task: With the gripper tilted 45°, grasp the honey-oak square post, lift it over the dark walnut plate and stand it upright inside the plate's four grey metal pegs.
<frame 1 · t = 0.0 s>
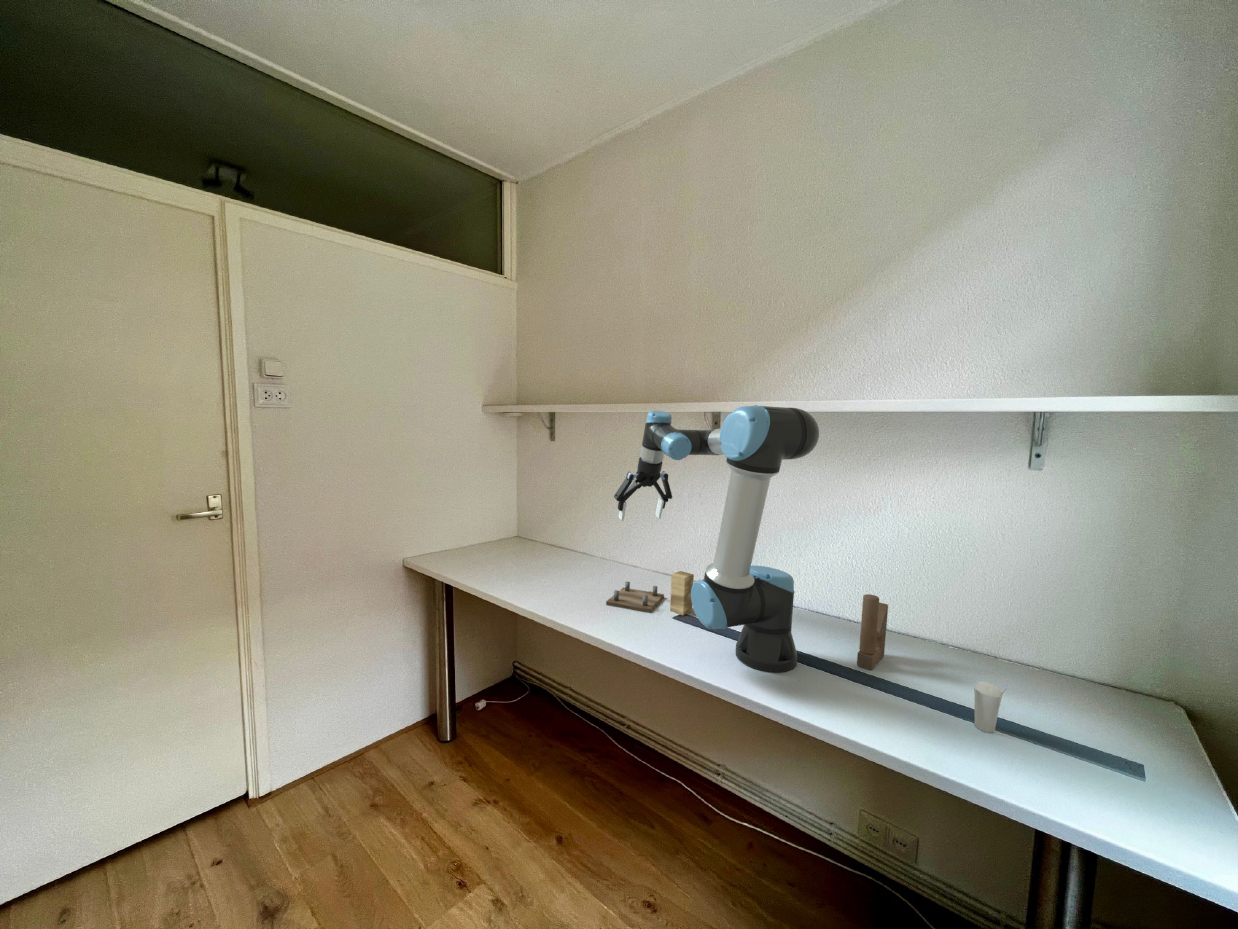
hand: (639, 517, 163), 28 cm above the table, tool tilted 20°, fingers open, 13 cm apart
peg plate: (635, 601, 163), on the table
milkshake: (986, 730, 98), on the table
oak post: (681, 611, 156), on the table
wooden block: (870, 662, 126), on the table
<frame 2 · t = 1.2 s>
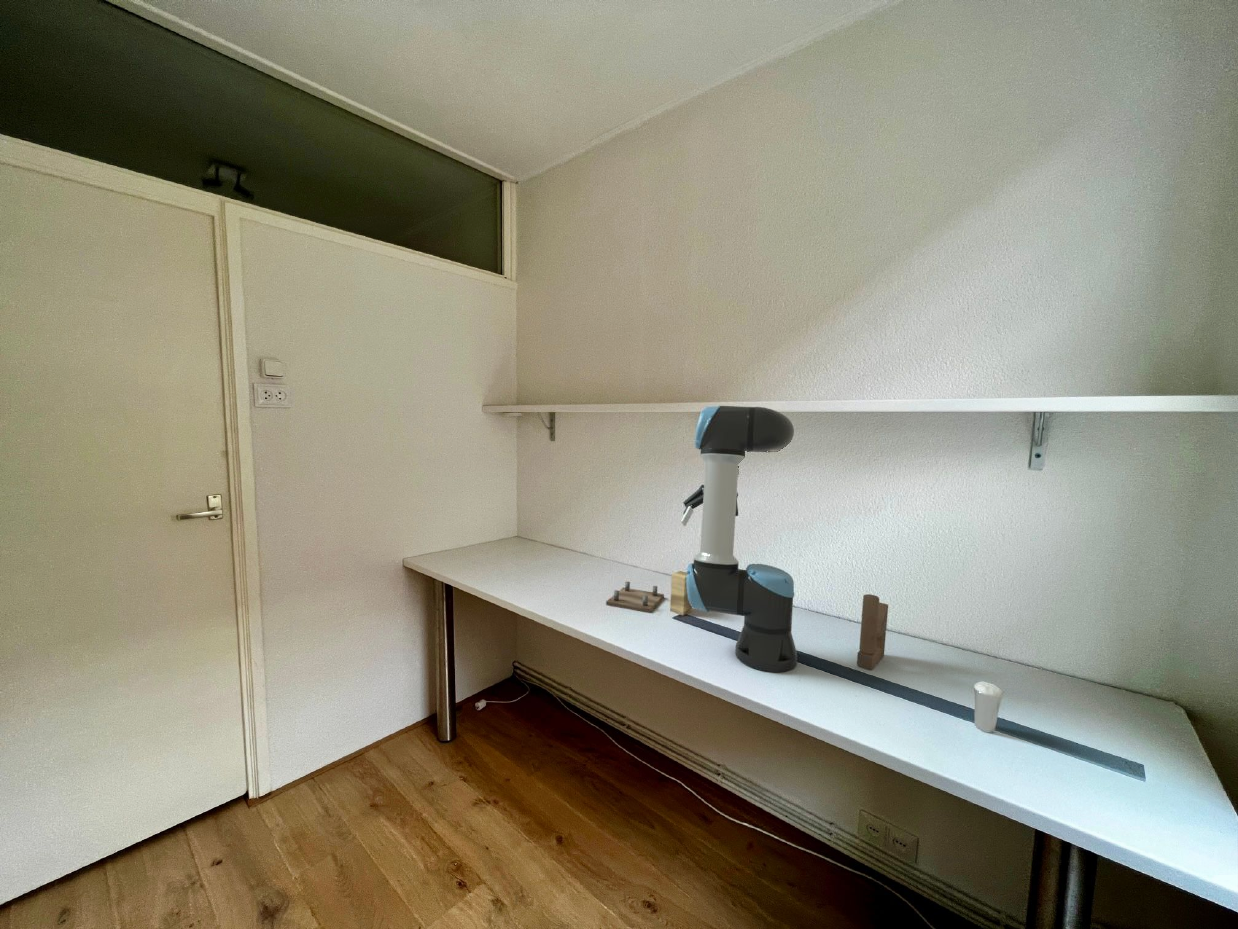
hand: (700, 527, 161), 26 cm above the table, tool tilted 45°, fingers open, 13 cm apart
nothing on the table moved.
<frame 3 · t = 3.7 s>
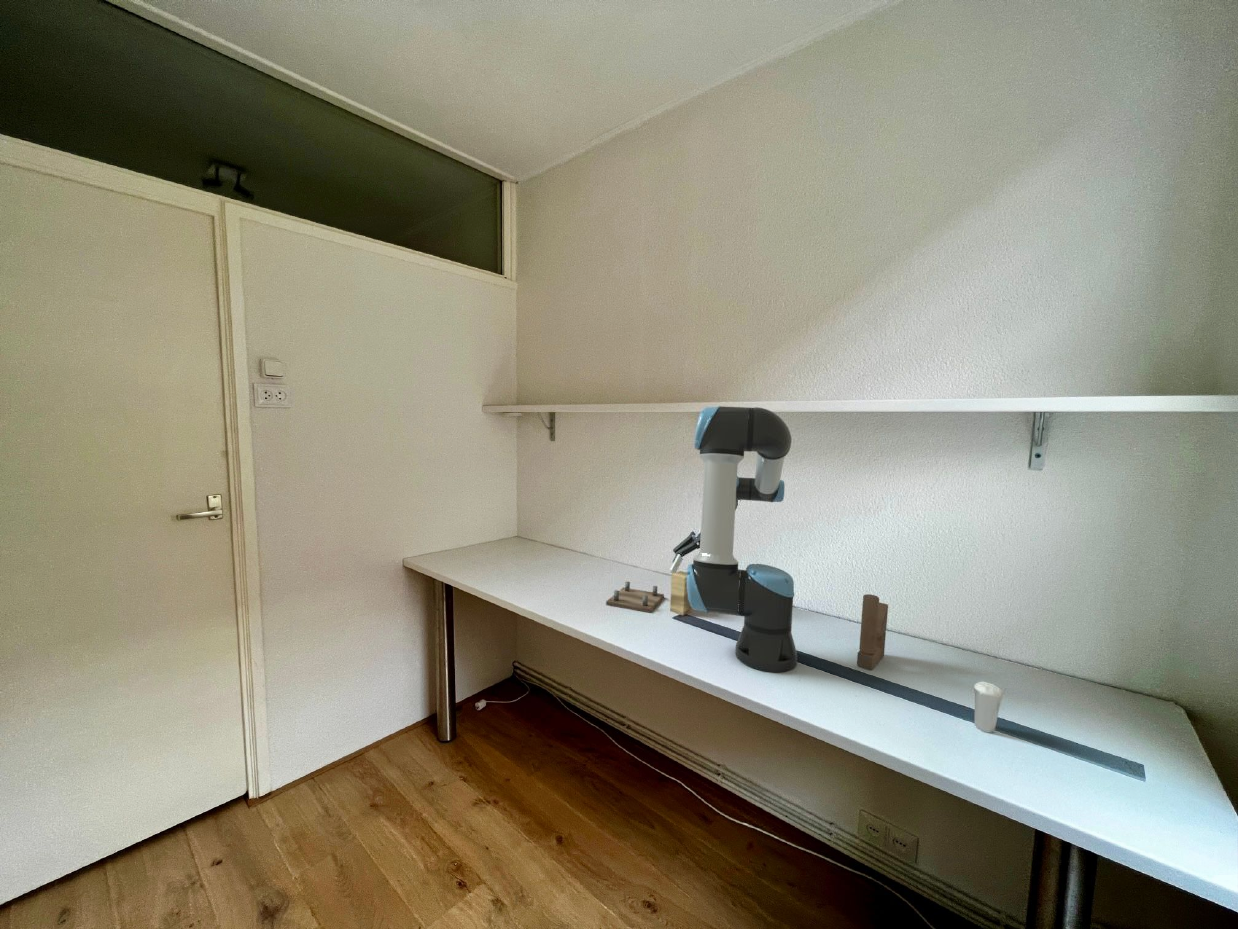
hand: (688, 577, 159), 10 cm above the table, tool tilted 45°, fingers open, 13 cm apart
nothing on the table moved.
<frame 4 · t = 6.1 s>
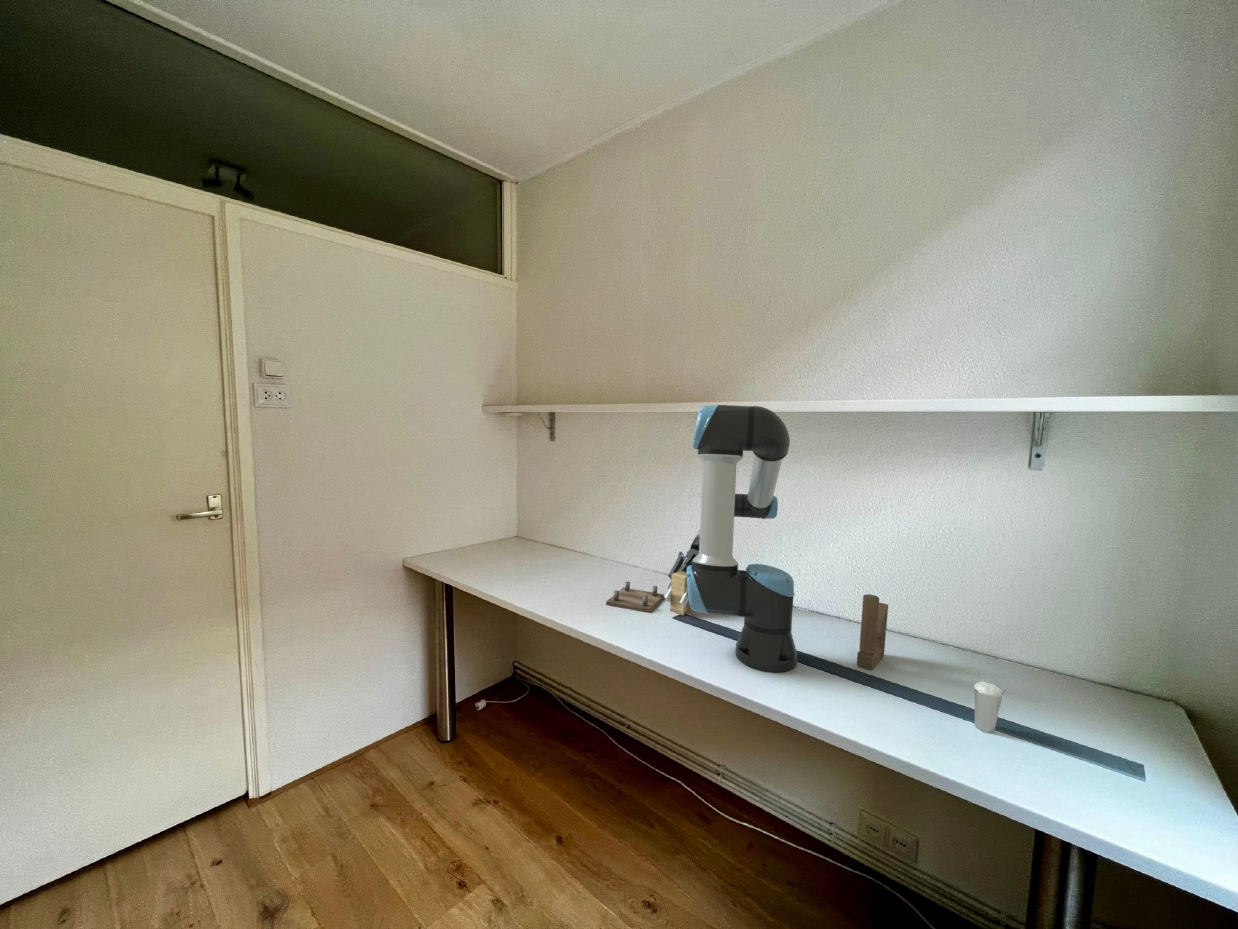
hand: (674, 602, 153), 4 cm above the table, tool tilted 45°, fingers closed on oak post, 5 cm apart
oak post: (681, 611, 156), on the table, touching gripper
everything else where it was.
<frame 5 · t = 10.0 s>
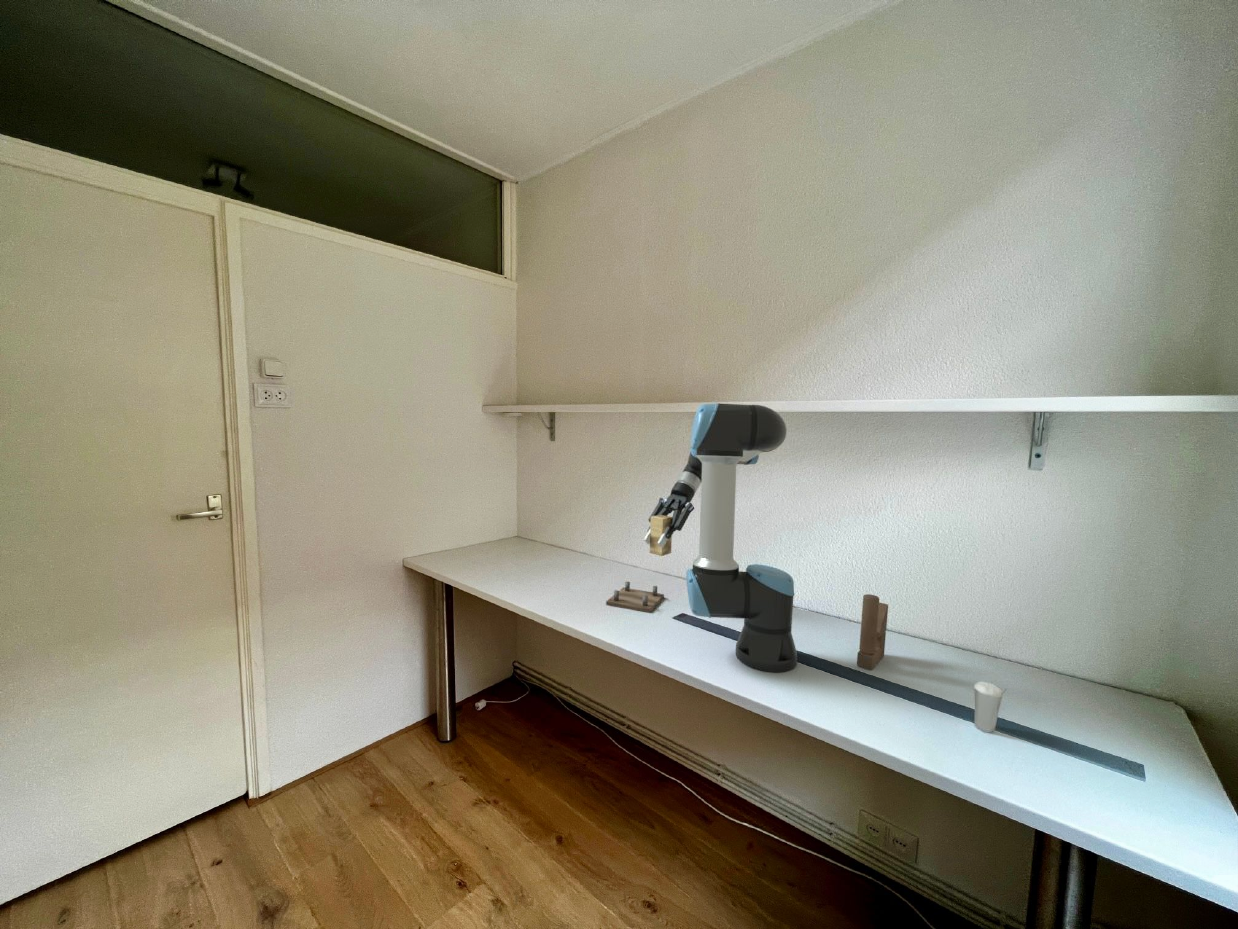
hand: (653, 543, 157), 21 cm above the table, tool tilted 45°, fingers closed on oak post, 5 cm apart
oak post: (660, 553, 160), point 17 cm above the table, touching gripper
everything else where it was.
when the fingers open (6 cm above the table, at t = 13.9 s): oak post drops 1 cm, resting on peg plate.
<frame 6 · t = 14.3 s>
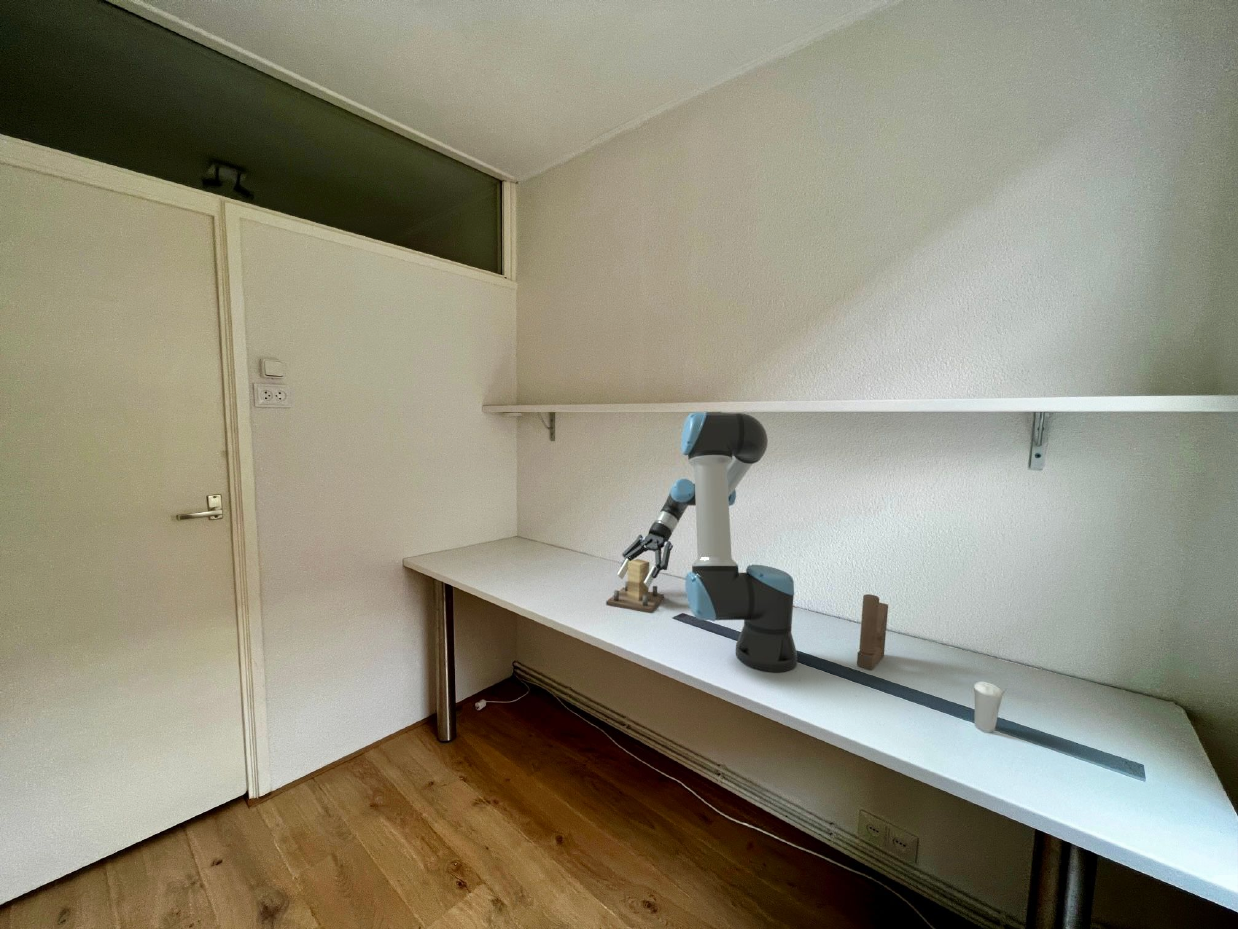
hand: (632, 580, 161), 7 cm above the table, tool tilted 45°, fingers open, 11 cm apart
oak post: (637, 596, 164), point 1 cm above the table, touching peg plate
everything else where it was.
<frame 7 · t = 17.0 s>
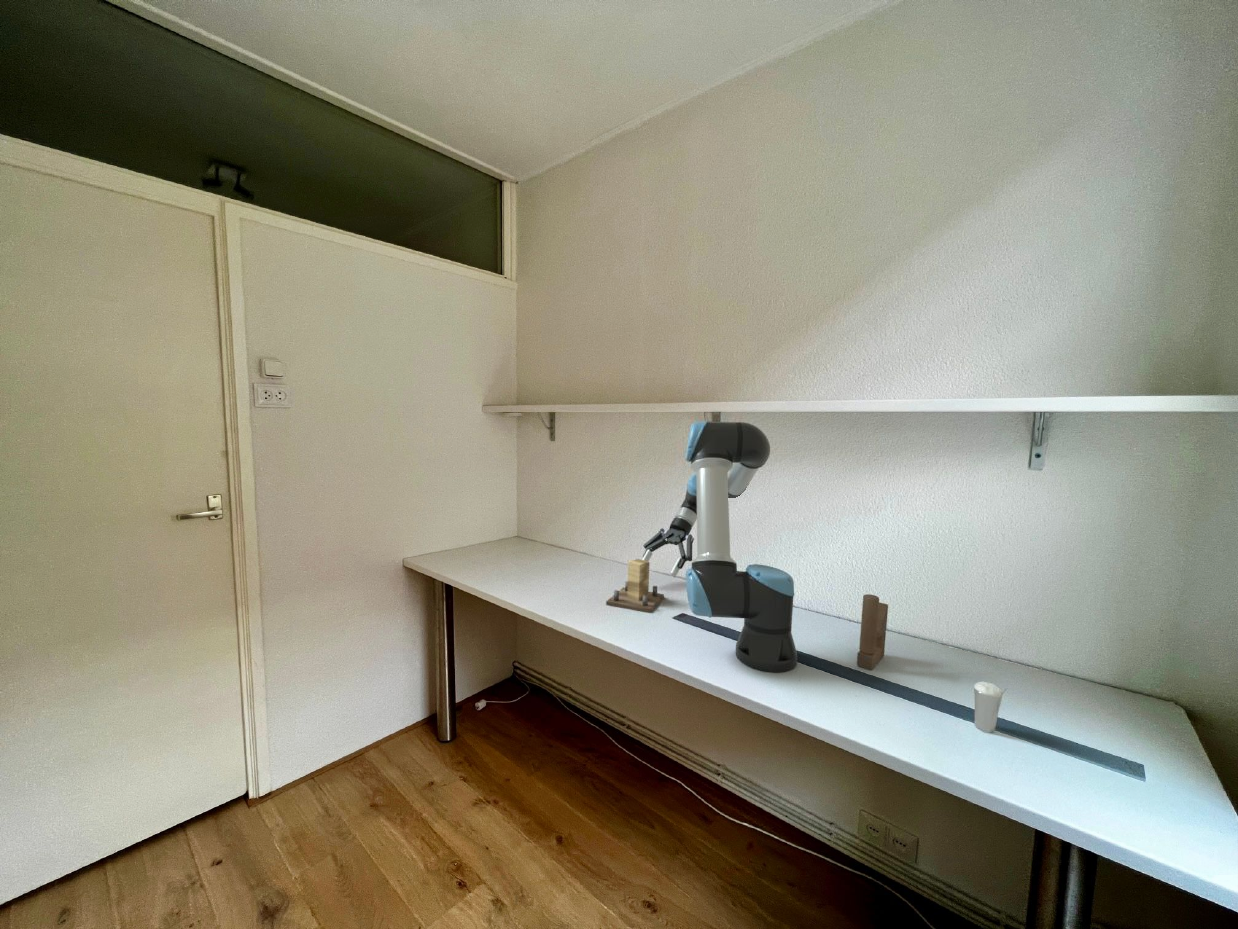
hand: (656, 571, 171), 8 cm above the table, tool tilted 45°, fingers open, 13 cm apart
nothing on the table moved.
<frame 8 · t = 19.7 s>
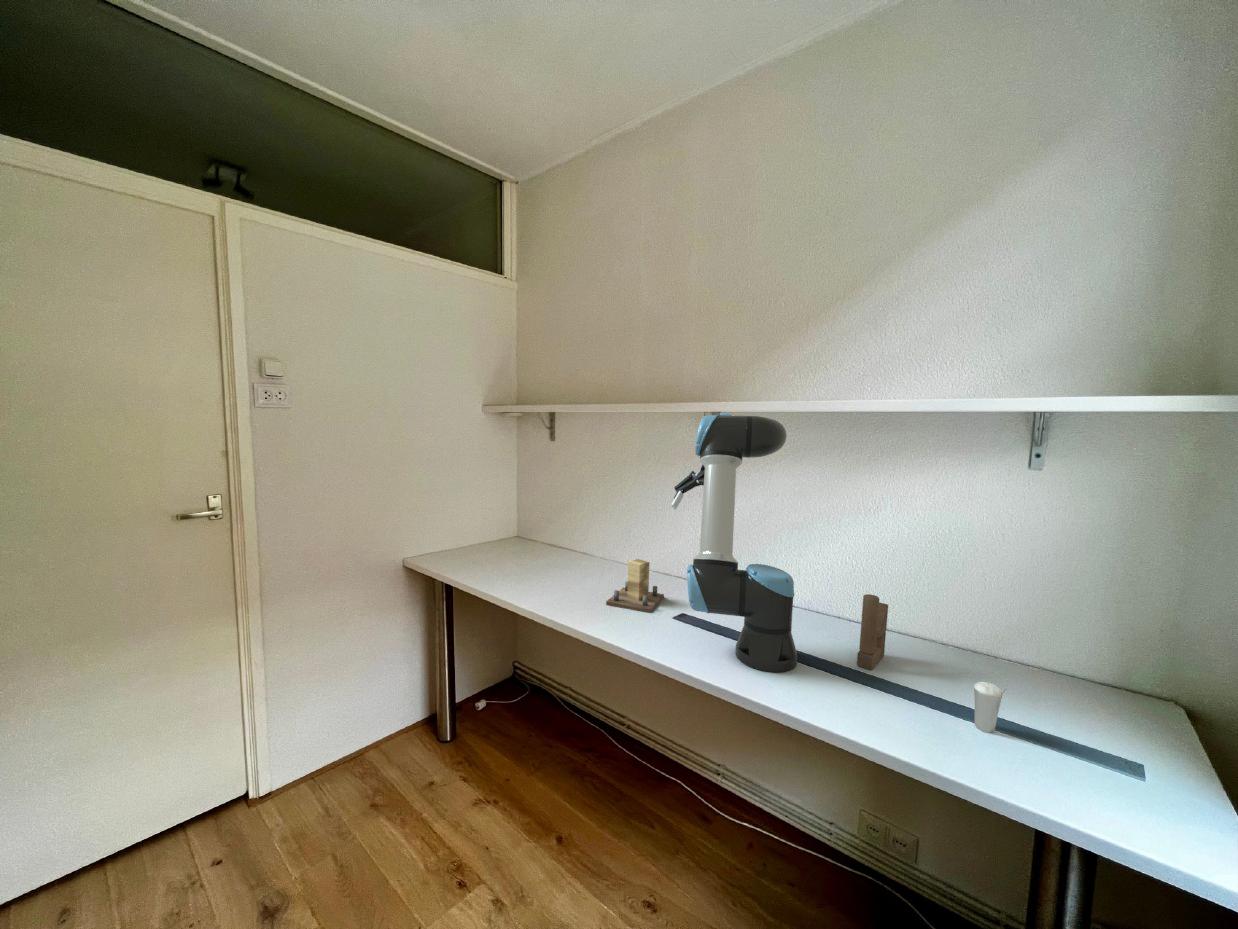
hand: (689, 510, 170), 30 cm above the table, tool tilted 45°, fingers open, 13 cm apart
nothing on the table moved.
at the end: oak post 1.0 cm off-centre on the peg plate, point 1.2 cm above the peg plate's base; oak post tilted 0°; the gripper is holding nothing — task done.
